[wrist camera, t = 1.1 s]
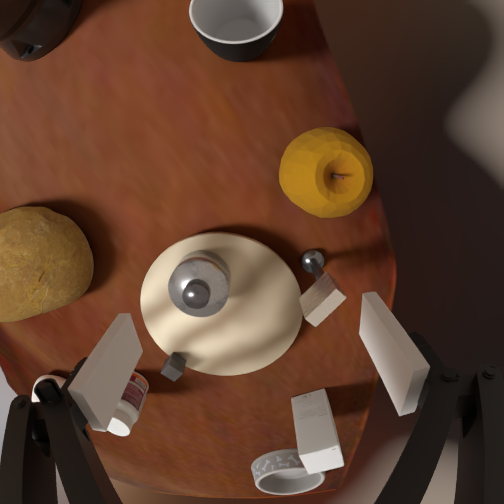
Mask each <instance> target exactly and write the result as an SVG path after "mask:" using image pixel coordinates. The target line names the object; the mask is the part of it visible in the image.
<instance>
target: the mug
mask: <svg viewBox="0 0 504 504" xmlns="http://www.w3.org/2000/svg"><path fill="white" fill-rule="evenodd" d="M189 14H190V20H191V22H192V25H193V27H194V29H195V31H196V32H197V34H198V35H199V37H200V38H201V39H202V41H203V42H204V43H205V44H206V45H207V47H208V48H209V49H210V50H212V51H213V52H214V53H215V54H216V55H218V56H220V57H221V58H223V59H226V60H229V61H234V62H244V61H249V60H252V59H254V58H256V57H258V56H259V55H261V54H262V53H263V52H264V51H265V50H266V49H267V48H268V47H269V45H270V44H271V42H272V41H273V39H274V37H275V35H276V33H277V31H278V29H279V26H280V23H281V20H282V16H283V2H282V0H192V1H191V4H190V8H189Z"/></svg>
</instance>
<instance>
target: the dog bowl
mask: <svg viewBox="0 0 504 504" xmlns="http://www.w3.org/2000/svg"><path fill="white" fill-rule="evenodd" d="M251 470H252V473H253V476H254V480H255V484H256V486H257V488H258V489H260V490H261V491H264V492H266V493H271V494H278V495H289V494H297V493H302V492H306V491H309V490H311V489H314V488H316V487H317V486H319V485H320V484H321V483H322V482H323V481H324V479H325V471H322V472H318V473H313V474H308V473H307V471H306V469H305V467H304V465H303V463H302V461H301V459H300V458H299V455H298V449H284V450H278V451H274V452H270V453H267V454H265V455H262V456H261V457H259V458H257V459H256V460H255V461H254V462H253V464H252V466H251Z"/></svg>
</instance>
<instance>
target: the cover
mask: <svg viewBox="0 0 504 504" xmlns="http://www.w3.org/2000/svg"><path fill="white" fill-rule="evenodd" d="M230 281H231V274H230V270H229V267H228V265H227V264H226V262H225V261H224V260H223V259H222V258H221V257H220V256H218V255H217V254H215V253H213V252H210V251H205V250H197V251H193V252H190V253H188V254H186V255H185V256H184V257H183V258H182V259H181V260H180V261H179V263H178V265H177V266H176V268H175V270H174V271H173V273H172V275H171V276H170V279H169V282H168V292H169V296H170V298H171V300H172V302H173V303H174V305H175V306H176V307H177V308H178V309H179V310H180V311H182V312H184V313H185V314H187V315H190V316H194V317H208V316H211V315H214V314H216V313H217V312H219V311H220V310H221V309H222V308H223V307H224V306H225V304H226V302H227V299H228V294H229V288H230Z"/></svg>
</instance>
